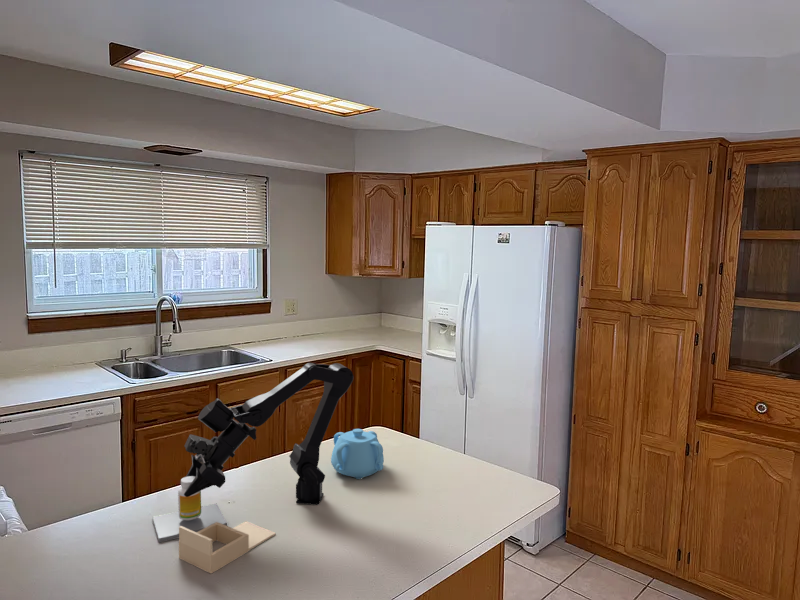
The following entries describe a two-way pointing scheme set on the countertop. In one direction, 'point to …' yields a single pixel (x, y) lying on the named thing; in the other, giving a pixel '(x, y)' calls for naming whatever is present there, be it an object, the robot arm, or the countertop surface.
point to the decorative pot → (357, 453)
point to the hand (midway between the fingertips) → (183, 491)
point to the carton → (237, 541)
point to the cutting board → (186, 522)
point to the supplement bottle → (188, 501)
